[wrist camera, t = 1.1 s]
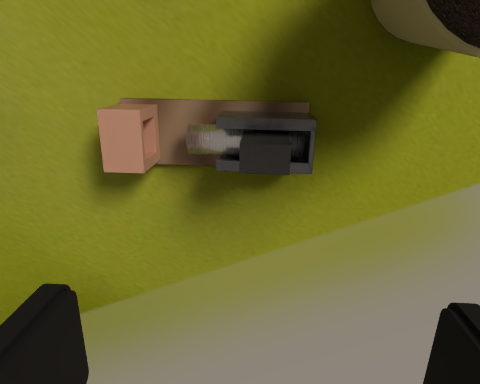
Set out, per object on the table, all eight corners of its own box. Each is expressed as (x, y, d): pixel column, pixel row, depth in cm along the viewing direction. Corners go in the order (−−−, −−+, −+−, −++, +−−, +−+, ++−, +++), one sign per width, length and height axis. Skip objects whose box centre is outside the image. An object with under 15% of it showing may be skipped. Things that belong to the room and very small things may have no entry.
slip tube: (302, 124, 35) (314, 141, 27) (299, 153, 36) (310, 179, 28) (191, 121, 36) (169, 137, 27) (192, 150, 37) (171, 174, 28)
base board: (308, 102, 37) (309, 102, 36) (303, 166, 39) (304, 168, 38) (123, 98, 38) (119, 98, 37) (128, 160, 40) (125, 162, 39)
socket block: (156, 104, 37) (139, 109, 32) (160, 159, 39) (144, 173, 34) (119, 103, 37) (96, 108, 32) (125, 158, 39) (103, 171, 34)
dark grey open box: (309, 112, 36) (316, 119, 31) (305, 159, 38) (311, 174, 33) (222, 110, 37) (215, 117, 32) (222, 157, 38) (216, 170, 33)
